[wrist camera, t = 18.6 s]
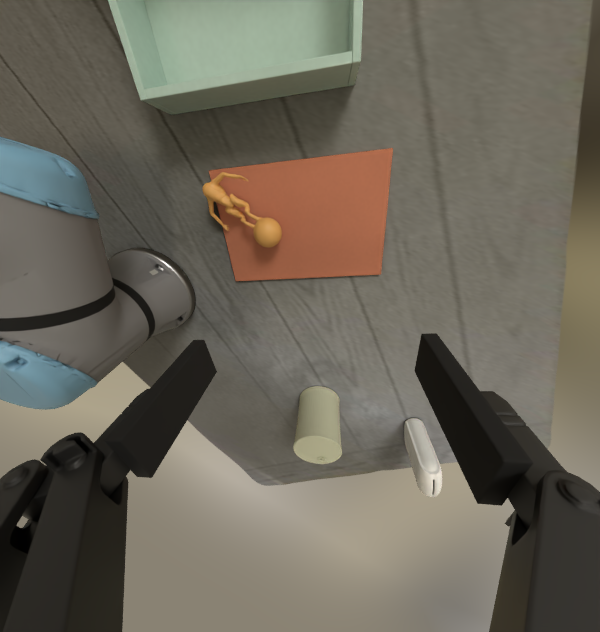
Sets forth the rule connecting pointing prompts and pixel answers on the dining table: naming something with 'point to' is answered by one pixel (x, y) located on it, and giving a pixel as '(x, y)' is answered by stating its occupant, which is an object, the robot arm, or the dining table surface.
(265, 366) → the dining table surface
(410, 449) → the white curved piece
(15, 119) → the dining table surface
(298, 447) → the can
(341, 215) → the mat
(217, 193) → the figurine
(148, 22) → the basin
